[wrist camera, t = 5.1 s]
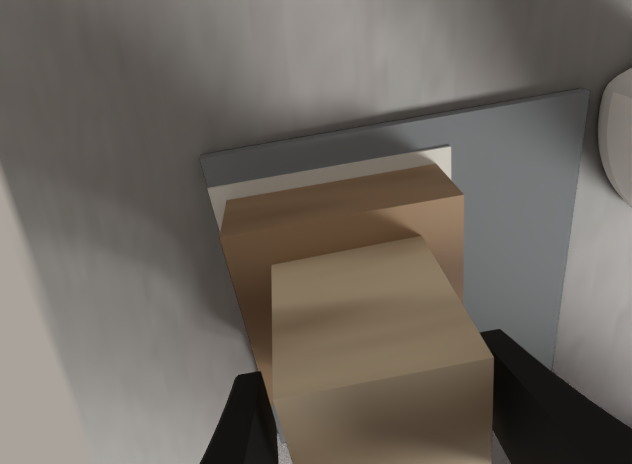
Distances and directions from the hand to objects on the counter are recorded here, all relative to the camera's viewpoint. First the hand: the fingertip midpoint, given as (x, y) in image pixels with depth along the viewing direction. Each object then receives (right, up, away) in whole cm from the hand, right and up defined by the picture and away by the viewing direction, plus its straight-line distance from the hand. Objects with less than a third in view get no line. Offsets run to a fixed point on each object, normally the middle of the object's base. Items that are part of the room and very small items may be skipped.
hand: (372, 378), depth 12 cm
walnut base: (0, +3, +5) cm, 5 cm away
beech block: (0, +1, +2) cm, 3 cm away
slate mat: (+2, +1, +6) cm, 7 cm away
